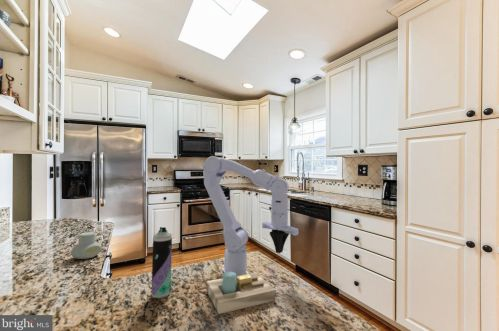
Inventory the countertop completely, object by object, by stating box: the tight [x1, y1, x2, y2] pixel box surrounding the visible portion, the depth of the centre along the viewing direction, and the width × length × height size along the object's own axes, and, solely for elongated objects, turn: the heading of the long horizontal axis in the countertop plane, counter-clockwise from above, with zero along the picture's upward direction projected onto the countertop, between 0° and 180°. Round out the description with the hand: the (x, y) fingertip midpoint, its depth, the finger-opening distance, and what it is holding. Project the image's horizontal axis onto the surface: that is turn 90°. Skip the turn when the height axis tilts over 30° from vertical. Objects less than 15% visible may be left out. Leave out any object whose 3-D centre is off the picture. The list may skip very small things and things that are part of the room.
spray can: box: [151, 226, 173, 299], centre depth 71 cm, size 6×6×20 cm
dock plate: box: [206, 271, 276, 315], centre depth 70 cm, size 13×17×4 cm
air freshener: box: [70, 231, 102, 260], centre depth 100 cm, size 11×8×10 cm
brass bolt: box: [237, 274, 252, 288], centre depth 70 cm, size 2×4×2 cm, turn 114°
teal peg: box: [222, 272, 236, 295], centre depth 68 cm, size 4×4×7 cm
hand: (279, 252), depth 81 cm, fingers closed
